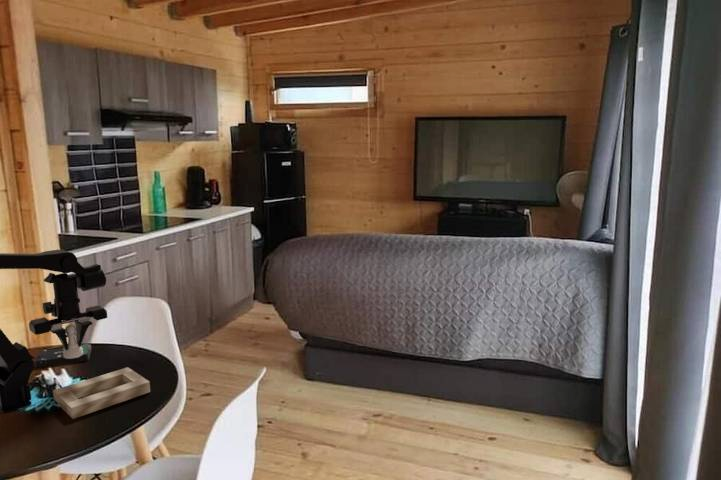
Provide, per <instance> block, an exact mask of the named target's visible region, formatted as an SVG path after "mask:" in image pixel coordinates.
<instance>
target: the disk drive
mask: <svg viewBox="0 0 721 480" xmlns="http://www.w3.org/2000/svg"><path fill="white" fill-rule="evenodd" d="M80 347H82V348H83V355H81V356H80V357H77V358H72V359H67V358H64V357H63V354H64V353H63V351H64V350H65V349H64V347H63V346H58V347H51V348H49V347H48V348H44V349H40V350H39V352H38V354H37V356H36V357H37V358H35V361H34V363H35V366H34V367H35V368H36V369H38V368H45V367H51V366H53V367H54V366H58V365H65V364H72V363H80V362H87V361H89V360H90V356H91V353H92V350H93V349H92V344H91V343H81V346H80Z"/></svg>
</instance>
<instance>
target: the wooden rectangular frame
mask: <svg viewBox="0 0 721 480" xmlns="http://www.w3.org/2000/svg"><path fill="white" fill-rule="evenodd" d="M150 383H151V382H150V380H148V379H146V378H145V377H143V376H142V375H141V374H139V373H137V372H136V371H134V370H133V369H131V368H130V367H128V366H127V367H124V368H121V369H120V368H119V369H118V370H115V371H111V372H108V373H105V374H104V373H103V374H102V375H99V376H95V377H92V378H88V379H84V380H82V381H78V382H75V383H72V384H70V385H69V384H68V385H65V386H63V387H59V388H56V389H53V390H52V394H53V395H52V396H53V401H54V400H55V401H56V402H57V403H58V404H59V405H60V406H59V405H58V404H57V403H56V402H55V401H54V402H55V403H56V404H57V405H58V406H59V407H60V408H61V409H62V410H63V411H64V412H65V413H66V414H67V416H69V417H70V418H71V419H72V420H74V419H76V418H79V417H83V416H85V415H88V414H91V413H95V412H97V411H100V410H103V409H106V408H109V407H111V406H114V405H117V404H120V403H122V402H126V401H128V400H129V401H130V400H131V399H134V398H137V397H139V396H144V395H146V394H148V393H151V384H150ZM81 397H82V398H81ZM78 398H79V399H78Z"/></svg>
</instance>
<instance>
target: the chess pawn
mask: <svg viewBox="0 0 721 480" xmlns="http://www.w3.org/2000/svg"><path fill="white" fill-rule="evenodd" d="M64 329H65V332H66V338H67V339H68V340H67V344H68V350H64V351H63V353H64V354H63V357H64V358H67V359H72V358H77V357H80V356H81V355H83V348H82V347H79V346H78V343H77V340H76V338H75V337H77V334H76V325H73V324H69V325H67V326H65V328H64Z"/></svg>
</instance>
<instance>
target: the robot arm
mask: <svg viewBox="0 0 721 480" xmlns="http://www.w3.org/2000/svg"><path fill="white" fill-rule="evenodd" d="M24 269H25V270H31V269H34V270H36V269H39V270H40V269H41V270H46V271H52V272H49V273H48V275H46V277H45V278H44V279H43V282H44V283H48V284H52V286H53V293H54V295H53V296H54V298H53V303H52V302H51V301H46V302H43V303H42V311H43V314H44V315H47V314H48V315H49V314H51V317H55V318H53V319H52V318H51V319H48V318H47V317H45V316H44V317H41V318H36V319H31V320H30V321H29V323H28V327H29V329H28V330H29V331H30V332H31V333H33V334H34V335H37V336H38V335H42V334H47V333H49V332H50V333H52V334H54V335H56V336H57V338H58V340H59V341H60V343H61V345H62V347H64V349H65V350H68V340H67V339H68V337H66V335H67V334H66V332H65V328H64V327H63V325H65V324H68V323H73V322H74V324H75V327H76V332H75V333H76V334H77V335H76V342H77V343H78V346H79V347H80V346H81V344H83V340H84V337H85V335H86V333H87V331H88V328H89V326H91V325H93V322H92V321H91V318H93V319H94V320H96V321H101V320H105V319H108V311H107V309H105V308H104V307H102V306H101V305H93V306H90V307H86V308H85V312H81V308H80V303H81V299H80V298H79V292H78V289H80V290H81V291H82V292H87V291H92V290H95V289H100V288H104V287H106V284H107V276H105V272H104V271H103V269H102V267H101V265H100V264H97V263H95V264H91V265H89V266H83V265H81V264H80V263H79V262H78V258H77V256H76V255H75V253H73V252H70V251H66V250H64V249H63V250H62V249H53V250H46V251H43V252H39V253H38V252H37V253H10V252H8V253H3V252H2V253H0V270H24ZM53 272H55V273H53ZM56 272H58V273H59V274H56ZM68 273H73V274H68ZM33 359H36V357H35V356H33V355H31V354H30V352H29V349H28V348H27V347H26V346H25V345H23V344H21V343H19V342H17V341H16V342H14V343H12V341H11V340H10V339H9V338H8V336H7V335H6V334H5V333H4V331H3V330H2V329H1V328H0V411H1V412H2V413H3V414H6V413H10V412H12V411H16V410H19V409H22V408H24V407H28V406H31V405H32V403H33V402H32V401H31V400H32V395H31V394H32V392H31V386H30V384H29V380H30V377H31V374H32V373H33V371H34V369H35V367H36V366H35V361H34V360H33Z"/></svg>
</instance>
